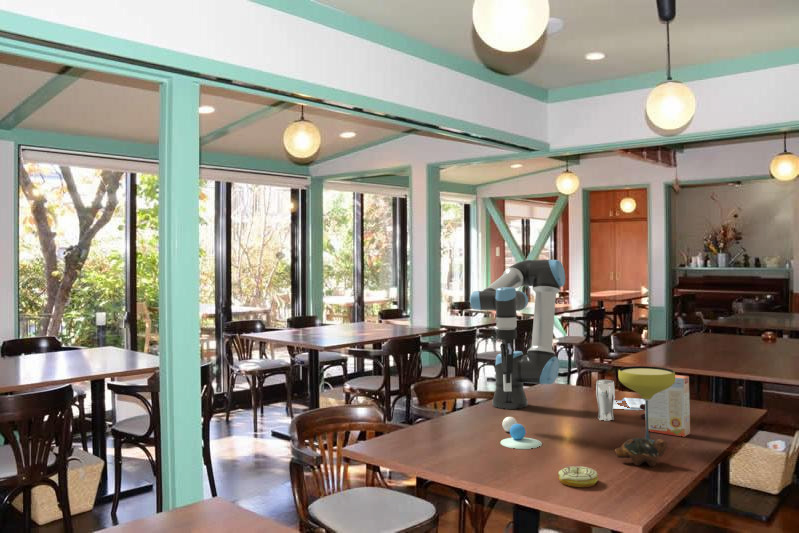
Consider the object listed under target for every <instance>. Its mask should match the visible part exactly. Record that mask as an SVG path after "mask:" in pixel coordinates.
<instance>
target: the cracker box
mask: <svg viewBox="0 0 799 533" xmlns="http://www.w3.org/2000/svg"><path fill="white" fill-rule="evenodd" d="M690 409H691V408H690V376H689V375H682V374H681V375H679V374H675V383H674V384H673V385H672V386H671V387H669V388H667V389H665V390H663V391H661V392H658V393H656V394H655V395H653V396H652V398H651V399H650V400H648V429H649V431H650V433H656V434H657V433H658V434H665V435H669V436H675V437H681V436H682V438H685V437H687V436H688V435H691V411H690ZM644 414H645V419H644V420H645V422H646V400H645V411H644Z"/></svg>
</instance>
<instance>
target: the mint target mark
mask: <svg viewBox="0 0 799 533" xmlns="http://www.w3.org/2000/svg"><path fill="white" fill-rule="evenodd" d="M500 445H501V446H503V447H505V448H509V449H513V448H515V450H532V449H531V448H533V449H537V447H538V448H540V447H541V446H542V445H543V444H542V441H540V440H539V439H534V438H532V437H531V438H530V437H524V438H522V439H520V440H516V439H514V438H512V437H507V438H504V439H502V440H501V441H500ZM539 446H540V447H539Z"/></svg>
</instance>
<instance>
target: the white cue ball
mask: <svg viewBox="0 0 799 533" xmlns="http://www.w3.org/2000/svg"><path fill="white" fill-rule="evenodd" d="M501 424H502V428H503V430H504V431H505V432H507V433H510V428H511V426H512V425H514V424H518V421H517V420H516V418H515V417H513V416H507V417H505V418H503V421H502V423H501Z"/></svg>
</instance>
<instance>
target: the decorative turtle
mask: <svg viewBox="0 0 799 533" xmlns="http://www.w3.org/2000/svg"><path fill="white" fill-rule="evenodd" d="M653 440H654V442H653V443H652V442H651V441H649V440H648V439H645V437H634V438H630V439H628V440H626V441H624V442H623V443H622V445H621V446H620V447H617V448H615V450H614V451H615V455H616V457H617V458H618V459H619V458H620V459H625V458H626V459H627V458H629V459H631V460H632V461H633V464H634V465H635V466H636V465H637V467H639V466H640V465H642V464H643V463H645V462H646V464H647V465H649V467H651V466H652V467H651V468H654V467H655V466H656V465H657V461H658V458H660V457H661V456H662V455H664V453H665V452H666V451H667V449H668V443H667V441H666V440H664V439H663V438H656V439H653Z"/></svg>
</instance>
